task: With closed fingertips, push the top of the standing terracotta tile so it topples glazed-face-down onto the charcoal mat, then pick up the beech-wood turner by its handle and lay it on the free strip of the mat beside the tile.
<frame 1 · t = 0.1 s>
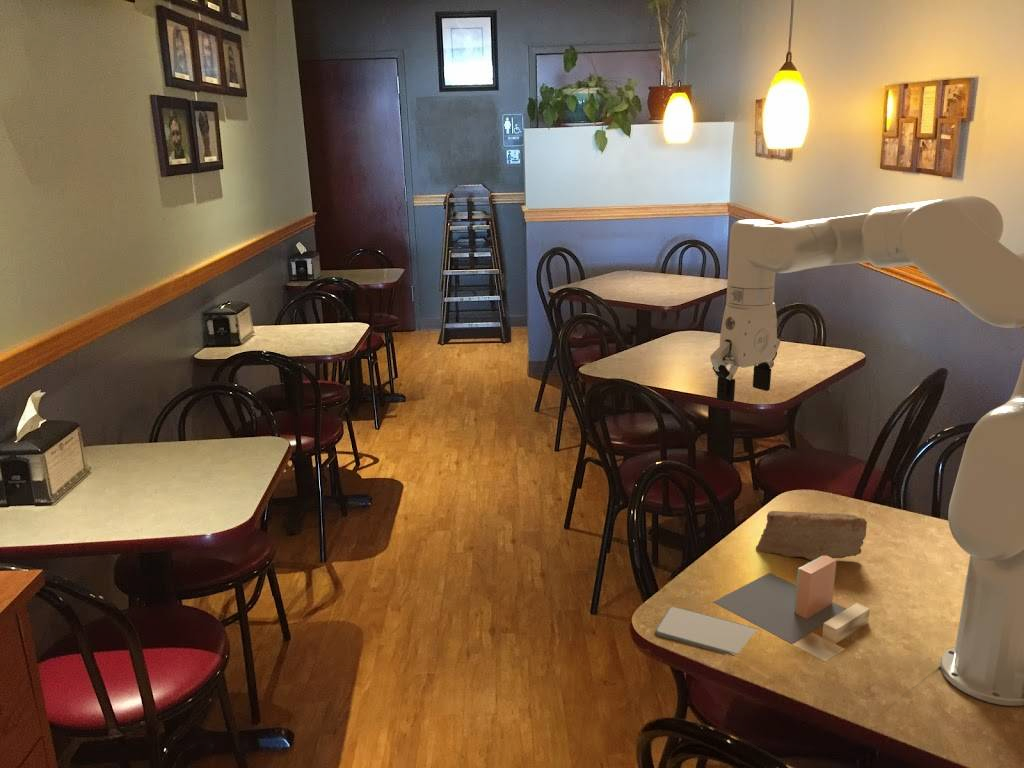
hand: (743, 394, 144), 31 cm above the table, tool pointing down, fingers open, 9 cm apart
turner: (835, 638, 128), on the table
mat: (779, 607, 137), on the table
tile: (814, 608, 135), resting on mat
stone: (807, 560, 152), on the table
smartphone: (708, 636, 130), on the table
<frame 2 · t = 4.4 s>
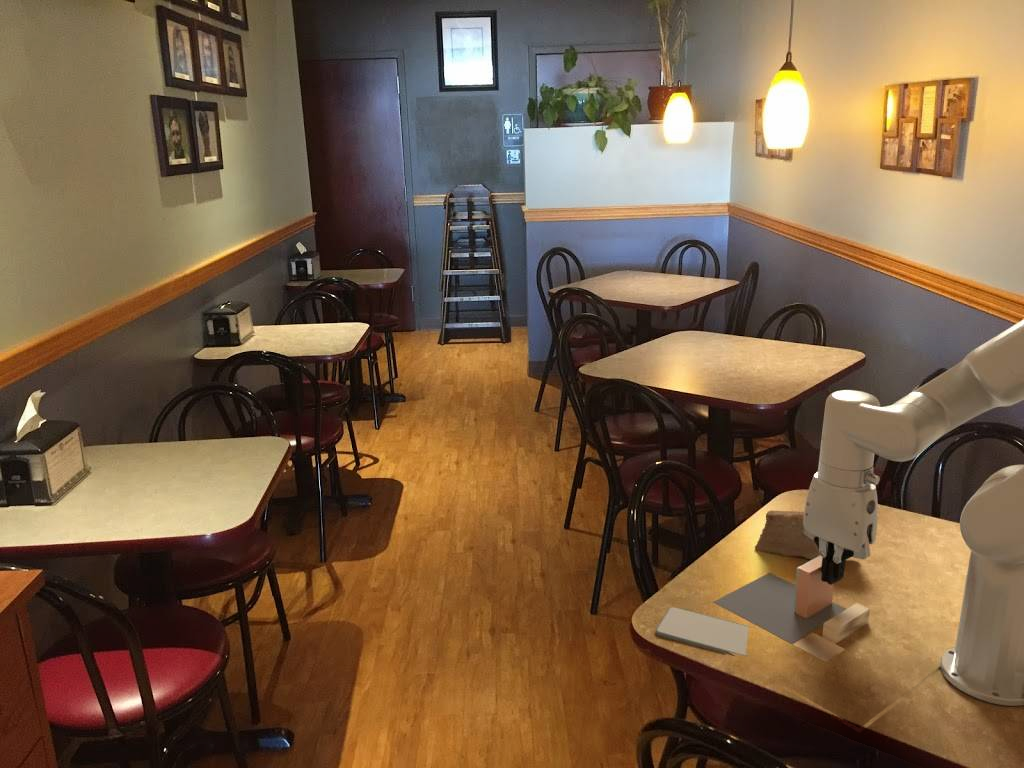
hand: (831, 579, 132), 7 cm above the table, tool pointing down, fingers closed
tile: (814, 608, 135), resting on mat, touching gripper
everything else where it was.
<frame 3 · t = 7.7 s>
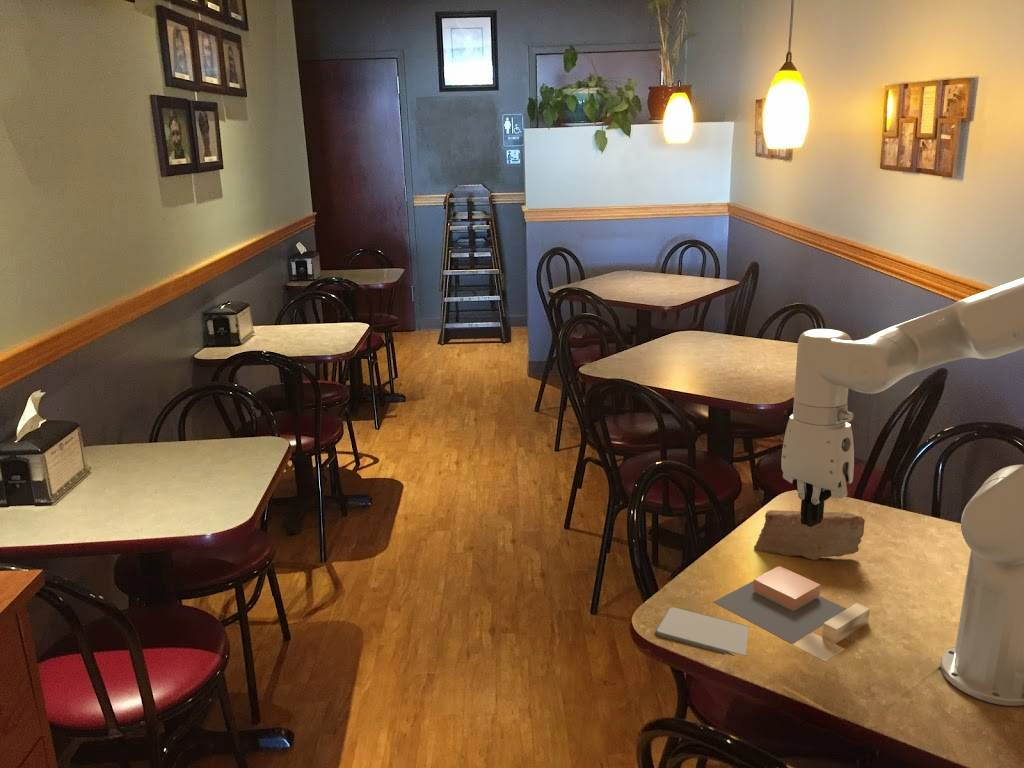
hand: (811, 522, 131), 16 cm above the table, tool pointing down, fingers closed
tile: (807, 597, 136), point 2 cm above the table, tilted 90°, touching mat
everything else where it was.
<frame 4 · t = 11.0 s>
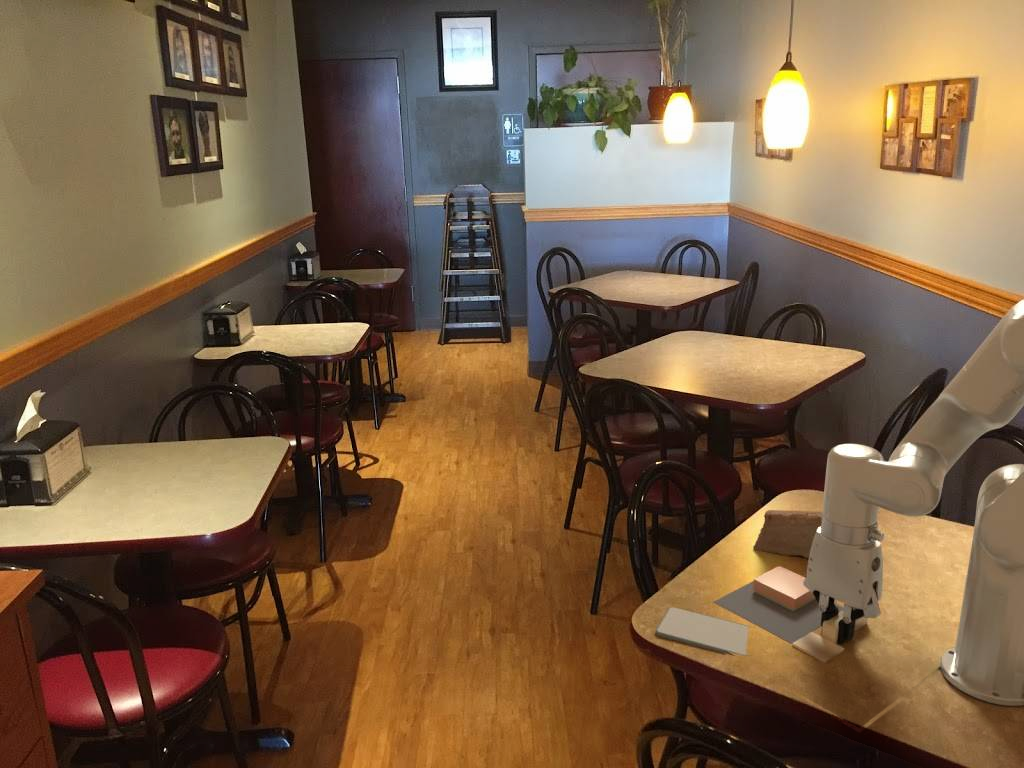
hand: (836, 636, 128), 0 cm above the table, tool pointing down, fingers closed on turner, 2 cm apart
turner: (835, 638, 128), on the table, touching gripper
everything else where it was.
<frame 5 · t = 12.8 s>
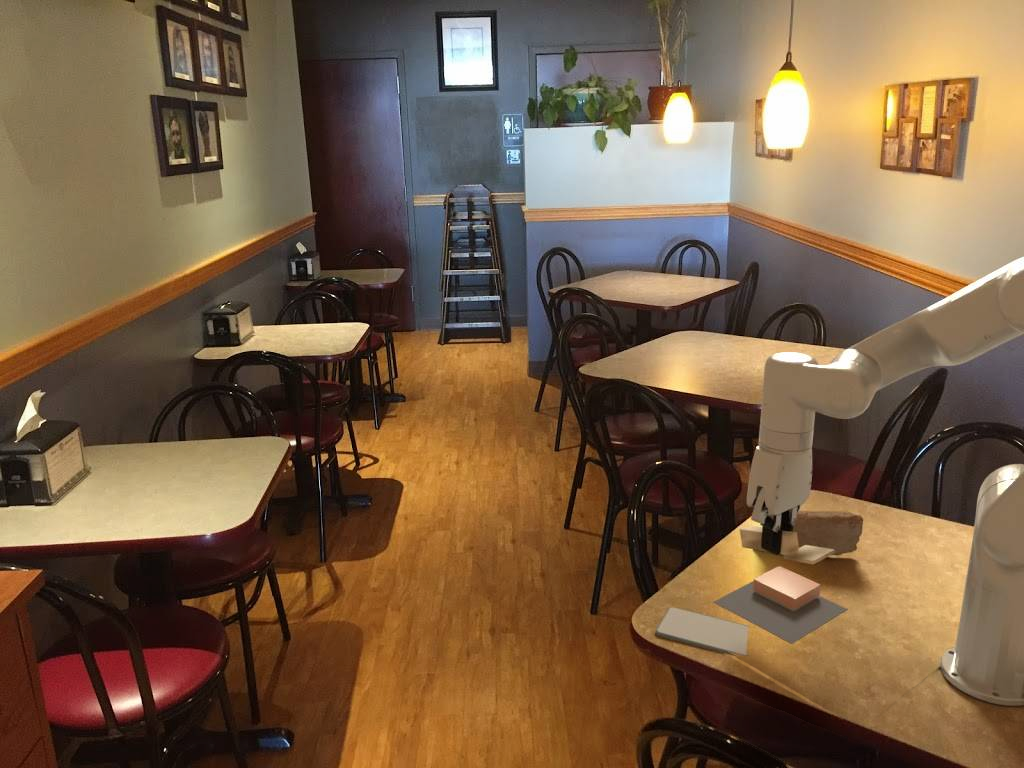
hand: (776, 547, 129), 13 cm above the table, tool pointing down, fingers closed on turner
turner: (783, 551, 128), point 13 cm above the table, tilted 14°, touching gripper
everything else where it was.
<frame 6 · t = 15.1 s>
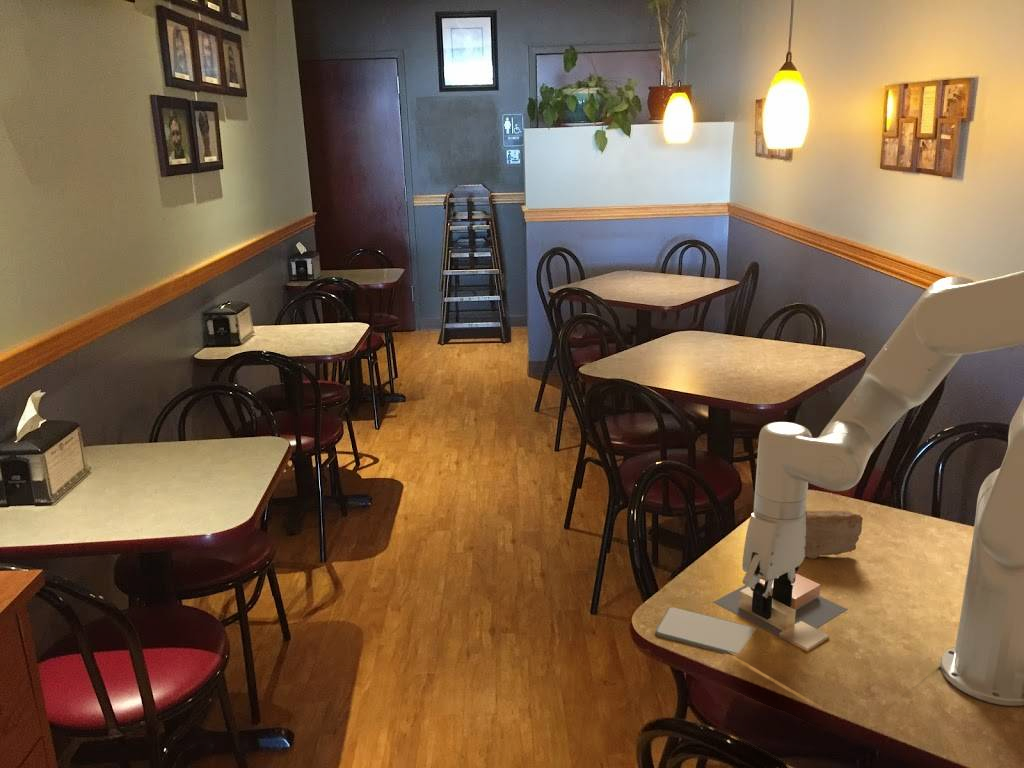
hand: (771, 608, 132), 2 cm above the table, tool pointing down, fingers open, 4 cm apart
turner: (779, 624, 131), resting on mat
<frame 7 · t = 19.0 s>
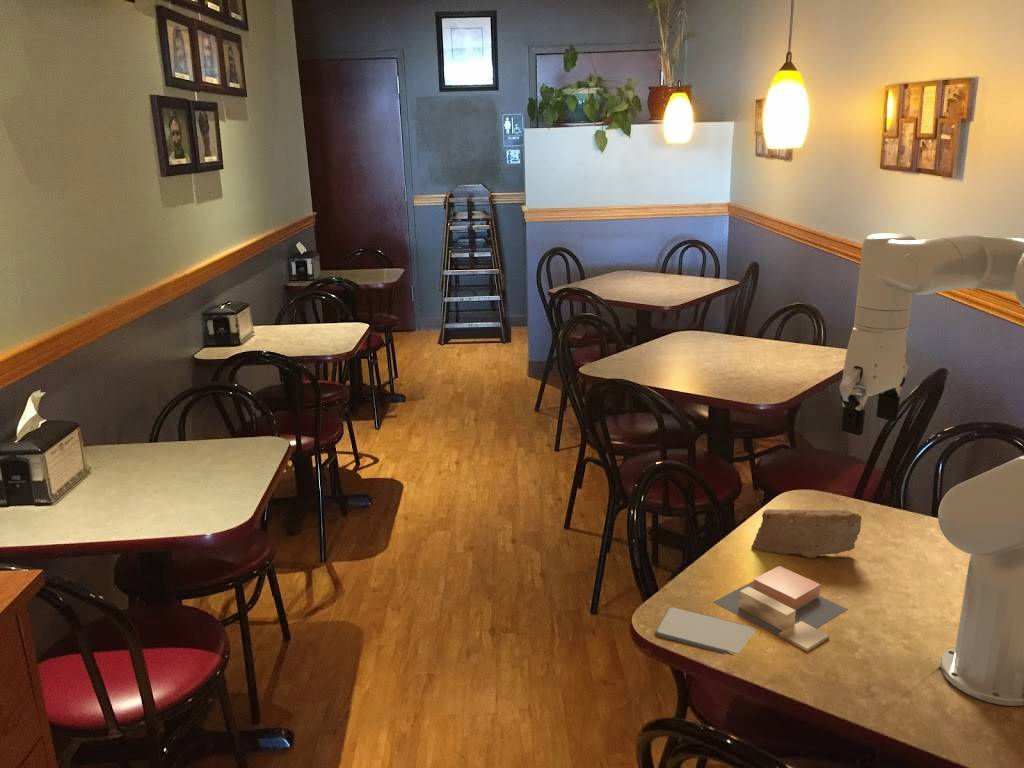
hand: (869, 425, 130), 30 cm above the table, tool pointing down, fingers open, 9 cm apart
at the end: tile tilted 90°; tile inside the target area (3.3 cm from its centre), point 1.8 cm above the table; turner inside the target area (2.7 cm from its centre), resting on mat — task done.
